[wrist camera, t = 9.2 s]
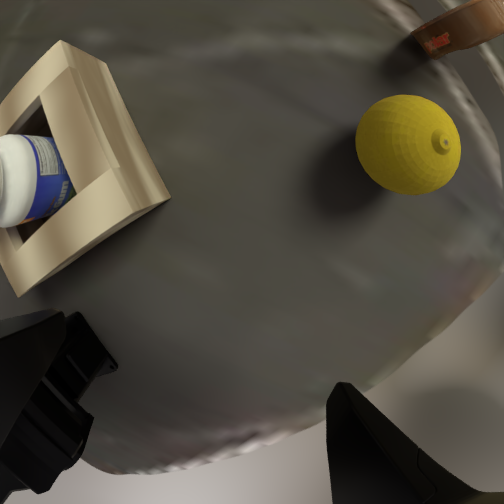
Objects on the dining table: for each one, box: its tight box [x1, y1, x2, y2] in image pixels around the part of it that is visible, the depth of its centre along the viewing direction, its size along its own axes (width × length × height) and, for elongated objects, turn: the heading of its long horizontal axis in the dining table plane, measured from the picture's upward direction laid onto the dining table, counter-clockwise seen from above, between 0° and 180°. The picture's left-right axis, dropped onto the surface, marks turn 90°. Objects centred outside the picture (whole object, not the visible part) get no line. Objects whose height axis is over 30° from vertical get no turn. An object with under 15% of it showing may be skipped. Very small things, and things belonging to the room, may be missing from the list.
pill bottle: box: [0, 134, 77, 228], centre depth 13 cm, size 5×5×10 cm
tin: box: [411, 0, 504, 60], centre depth 9 cm, size 15×3×8 cm, turn 130°
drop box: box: [0, 40, 171, 298], centre depth 15 cm, size 12×12×6 cm
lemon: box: [355, 95, 461, 195], centre depth 13 cm, size 6×6×8 cm
